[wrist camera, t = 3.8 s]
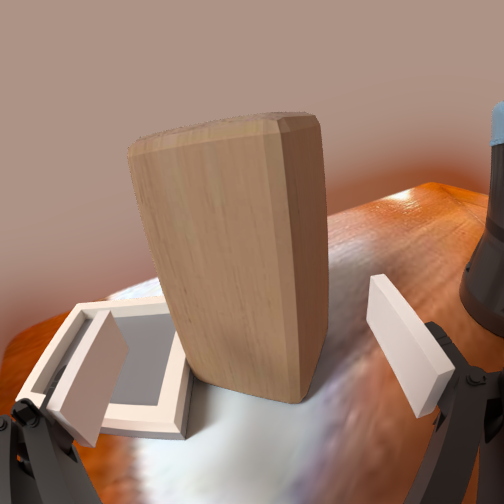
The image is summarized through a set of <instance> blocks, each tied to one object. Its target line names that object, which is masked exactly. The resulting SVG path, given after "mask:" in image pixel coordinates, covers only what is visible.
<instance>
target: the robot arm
mask: <svg viewBox="0 0 504 504" xmlns="http://www.w3.org/2000/svg"><path fill="white" fill-rule="evenodd" d="M490 146H492V155H491V156H492V157H491V159H492V160H491V181H490V192H489V201H488V209H487V218H486V224H485V230H484V233H483V235H482V237H481V239H480V241H479V243H478V245H477V247H476V249H475V250H474V252H473V254H472V256H471V259H470V261H469V262H468V264H467V265H466V267H465V269H464V272H463V276H462V280H461V284H460V289H459V293H460V298H461V301H462V303H463V305H464V307H465V308H466V310H467V311H468V313H469V314H470V315H471V316H472V317H473V318H474V319H475V320H476V321H477V322H478V323H479V324H481V325H482V326H483V327H485V328H486V329H488V330H489V331H491V332H493V333H495V334H497V335H499V336H501V337H504V101H502V102H499V103H498V104H496V105H495V107H494V108H493V111H492V133H491V141H490ZM366 321H367V323H368V324H369V326H370V328H371V330H372V332H373V333H374V335H375V337H376V339H377V341H378V343H379V344H380V346H381V348H382V350H383V352H384V354H385V356H386V358H387V359H388V361H389V363H390V365H391V367H392V369H393V371H394V373H395V375H396V377H397V379H398V381H399V383H400V385H401V387H402V389H403V391H404V393H405V395H406V397H407V399H408V401H409V403H410V405H411V407H412V409H413V412H414V414H415V416H416V418H420V417H422V416H425V415H427V414H430V413H432V412H433V411H434V409H435V407H436V405H438V406H439V408H440V410H441V411H440V413H439V414H438V416H437V418H436V419H435V421H434V423H433V425H435V428H434V431H433V434H432V437H431V439H430V442H429V445H428V448H427V451H426V453H425V456H424V458H423V461H422V463H421V466H420V468H419V471H418V473H417V475H416V478H415V480H414V482H413V484H412V486H411V489H410V491H409V493H408V495H407V497H406V499H405V501H404V503H403V504H461V503H462V500H463V498H464V495H465V492H466V489H467V486H468V483H469V480H470V477H471V473H472V470H473V466H474V463H475V459H476V455H477V451H478V447H479V478H478V491H477V500H476V504H504V368H503V369H502V371H499V372H492V373H486V372H485V371H484V370H483V369H481V368H479V367H476V366H470V365H469V364H468V362H467V361H466V359H465V358H464V357H463V355H462V354H461V353H460V351H459V350H458V349H457V347H456V346H455V345H454V343H452V341H451V339H450V338H449V337H447V334H446V333H445V331H444V330H443V329H442V328H441V327H440V326H439V325H437V324H435V323H434V322H432V321H431V322H428V323H425V324H424V323H423V322H422V321H421V319H420V318H419V317H418V315H417V314H416V313H415V312H414V310H413V309H412V308H411V306H410V305H409V304H408V303H407V301H406V300H405V299H404V297H403V296H402V295H401V294H400V292H399V291H398V290H397V289H396V287H395V286H394V285H393V284H392V283H391V281H390V280H389V279H388V278H387V276H386V275H385V274H379V275H374V276H370V288H369V299H368V308H367V317H366ZM128 350H129V348H128V346H127V344H126V342H125V340H124V338H123V336H122V334H121V332H120V330H119V328H118V326H117V324H116V321H115V319H114V317H113V315H112V313H111V310H105V311H98V313H97V314H96V316H95V318H94V319H93V321H92V323H91V324H90V326H89V328H88V330H87V331H86V333H85V335H84V336H83V338H82V340H81V342H80V343H79V345H78V347H77V349H76V351H75V352H74V354H73V356H72V358H71V360H70V362H69V363H68V365H64V366H63V367H62V368H61V369H60V370H59V371H58V373H57V375H56V377H55V378H54V382H52V384H51V386H50V387H51V388H49V390H48V392H47V394H46V396H45V398H44V400H43V402H42V404H41V406H40V408H39V409H38V408H37V407H36V405H35V404H34V403H33V402H32V401H31V400H30V399H29V398H22V399H20V400H18V401H17V402H16V403H15V404H14V405H13V407H12V409H11V415H12V417H13V418H14V419H15V420H16V421H15V422H14V421H13V420H12V419H11V418H10V417H9V416H8V415H1V416H0V504H103V503H102V502H101V500H100V498H99V496H98V494H97V492H96V490H95V489H94V487H93V485H92V483H91V481H90V479H89V477H88V474H87V472H86V470H85V468H84V466H83V464H82V461H81V459H80V457H79V454H78V452H77V450H76V448H75V446H74V445H73V444H72V443H73V440H74V439H75V440H76V441H77V442H78V443H79V444H80V445H82V446H86V447H91V448H95V445H96V442H97V438H98V435H99V432H100V429H101V426H102V423H103V420H104V416H105V413H106V410H107V408H108V405H109V402H110V399H111V396H112V393H113V390H114V387H115V385H116V382H117V379H118V376H119V374H120V371H121V368H122V366H123V363H124V361H125V358H126V355H127V353H128ZM17 455H18V456H20V462H19V461H18V460H17Z"/></svg>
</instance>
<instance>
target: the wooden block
mask: <svg viewBox="0 0 504 504" xmlns="http://www.w3.org/2000/svg"><path fill="white" fill-rule="evenodd" d="M127 158H128V163H129V168H130V173H131V177H132V181H133V186H134V190H135V195H136V199H137V203H138V207H139V211H140V215H141V219H142V223H143V227H144V230H145V234H146V237H147V241H148V245H149V248H150V252H151V255H152V258H153V262H154V265H155V269H156V271H157V275H158V278H159V282H160V285H161V288H162V291H163V294H164V297H165V300H166V303H167V306H168V309H169V312H170V315H171V317H172V320H173V323H174V326H175V329H176V331H177V334H178V337H179V339H180V342H181V345H182V347H183V350H184V353H185V355H186V358H187V360H188V363H189V365H190V368H191V370H192V373H193V375H194V376H195V377H196V378H198V379H199V380H200V381H202V382H205V383H208V384H211V385H215V386H218V387H222V388H225V389H229V390H233V391H237V392H241V393H244V394H248V395H253V396H257V397H261V398H266V399H270V400H275V401H280V402H284V403H289V404H296V403H300V402H301V401H302V399H303V398H304V397H305V396H306V395H307V392H308V389H309V386H310V384H311V381H312V378H313V375H314V372H315V369H316V365H317V362H318V359H319V356H320V353H321V350H322V346H323V343H324V340H325V336H326V333H327V329H328V290H329V279H328V229H327V206H326V188H325V174H324V161H323V149H322V139H321V129H320V124H319V122H318V120H317V118H316V116H315V115H312V114H309V113H306V112H274V113H273V112H272V113H260V114H254V115H246V116H239V117H232V118H227V119H220V120H215V121H210V122H204V123H199V124H194V125H189V126H185V127H180V128H176V129H172V130H167V131H163V132H159V133H155V134H151V135H147V136H144V137H140V138H139V139H138V140H137V141H136V142H135V143H134V144H132V145H131V146H130V147H128V156H127Z"/></svg>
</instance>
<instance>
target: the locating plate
mask: <svg viewBox="0 0 504 504" xmlns="http://www.w3.org/2000/svg"><path fill="white" fill-rule="evenodd" d="M105 310H111V313H112V315H113V317H114V319H115V321H116V324H117V326H118V328H119V330H120V332H121V334H122V336H123V338H124V340H125V342H126V344H127V346H128V348H129V350H128V353H127V355H126V358H125V361H124V363H123V366H122V368H121V371H120V374H119V376H118V379H117V382H116V385H115V387H114V390H113V393H112V396H111V399H110V402H109V405H108V408H107V410H106V413H105V416H104V420H103V423H102V426H101V429H100V432H99V433H104V434H111V435H119V436H128V437H138V438H150V439H168V440H185V438H186V430H187V422H188V414H189V407H190V399H191V392H192V385H193V378H194V375H193V373H192V370H191V368H190V365H189V363H188V360H187V358H186V355H185V353H184V350H183V347H182V345H181V342H180V339H179V337H178V334H177V331H176V329H175V326H174V323H173V320H172V317H171V315H170V312H169V309H168V306H167V303H166V300H165V297H164V296H155V297H145V298H135V299H124V300H113V301H102V302H90V303H77V305H76V306H75V307H74V309H73V310H72V311H71V313H70V314H69V316H68V317H67V318H66V320H65V321H64V323H63V324H62V326H61V327H60V328H59V330H58V331H57V333H56V334H55V336H54V337H53V339H52V340H51V342H50V343H49V345H48V346H47V348H46V350H45V351H44V353H43V354H42V356H41V357H40V359H39V361H38V362H37V364H36V365H35V367H34V369H33V370H32V372H31V374H30V375H29V377H28V379H27V380H26V382H25V384H24V386H23V387H22V389H21V391H20V393H19V394H18V396H17V398H16V400H15V401H16V402H17V401H18V400H20V399H22V398H29V399H30V400H31V401H32V402H33V403H34V404H35V405H36V407H37V408H38V409H39V408H40V406H41V404H42V402H43V400H44V398H45V396H46V394H47V392H48V390H49V388H51V387H50V386H51V384H52V382H54V378H55V377H56V375H57V373H58V371H59V370H60V369H61V368H62V367H63V366H64V365H68V363H69V362H70V360H71V358H72V356H73V354H74V352H75V351H76V349H77V347H78V345H79V343H80V342H81V340H82V338H83V336H84V335H85V333H86V331H87V330H88V328H89V326H90V324H91V323H92V321H93V319H94V318H95V316H96V314H97V313H98V311H105Z"/></svg>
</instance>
